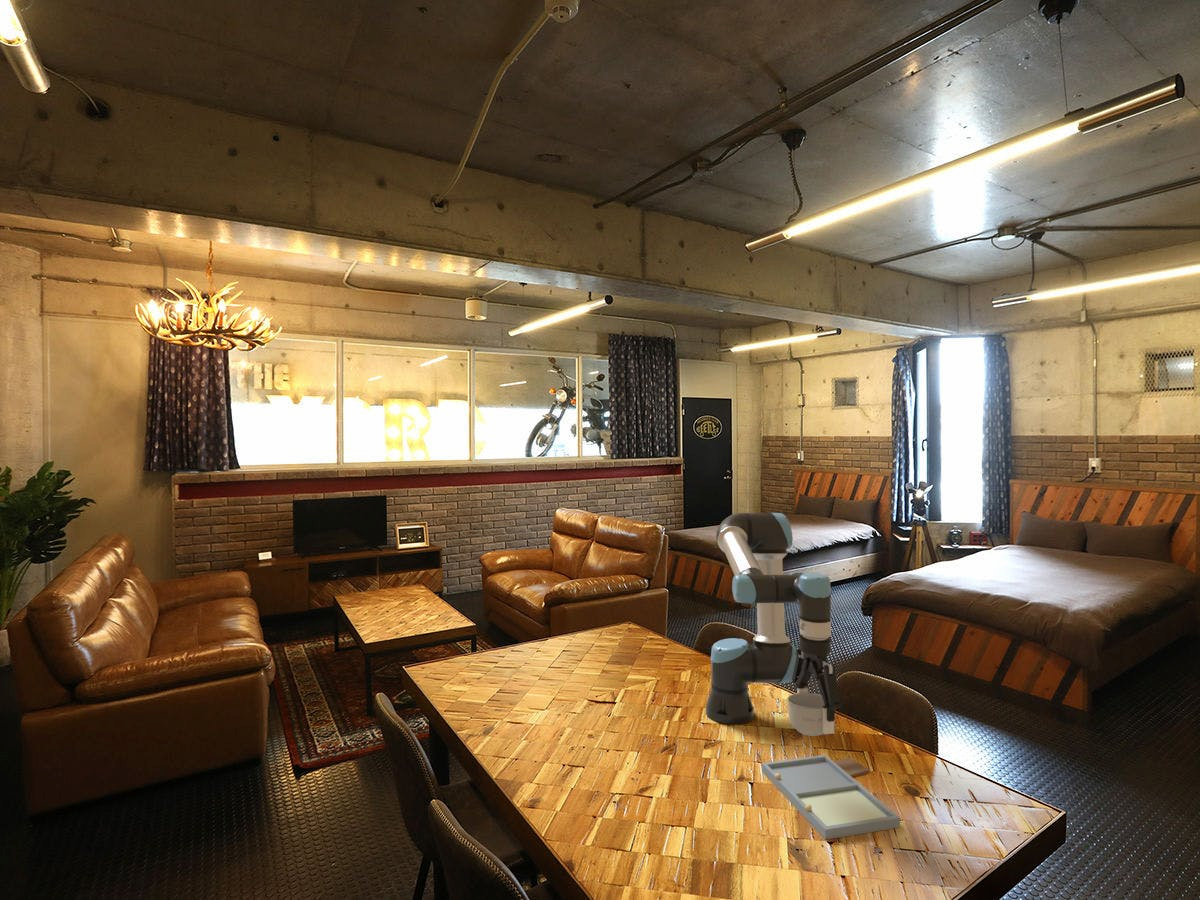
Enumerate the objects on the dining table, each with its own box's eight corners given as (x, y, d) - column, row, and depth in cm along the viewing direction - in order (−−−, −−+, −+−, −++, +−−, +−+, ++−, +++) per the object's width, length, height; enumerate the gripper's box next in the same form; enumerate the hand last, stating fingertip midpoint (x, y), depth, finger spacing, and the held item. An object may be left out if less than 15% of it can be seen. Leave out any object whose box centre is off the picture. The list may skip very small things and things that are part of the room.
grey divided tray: (761, 771, 163) (761, 760, 163) (825, 762, 168) (825, 751, 168) (824, 839, 135) (824, 826, 135) (899, 827, 139) (899, 814, 139)
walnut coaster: (829, 766, 167) (829, 762, 167) (849, 761, 169) (849, 757, 169) (849, 779, 160) (849, 775, 160) (869, 774, 163) (869, 769, 163)
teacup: (802, 743, 148) (802, 709, 149) (779, 723, 159) (779, 692, 159) (852, 736, 152) (852, 703, 152) (826, 718, 162) (826, 687, 162)
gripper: (778, 624, 166) (778, 705, 166) (828, 651, 143) (828, 746, 143) (803, 622, 168) (803, 703, 168) (856, 649, 145) (857, 742, 145)
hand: (815, 722), depth 155 cm, fingers closed on teacup, 11 cm apart
